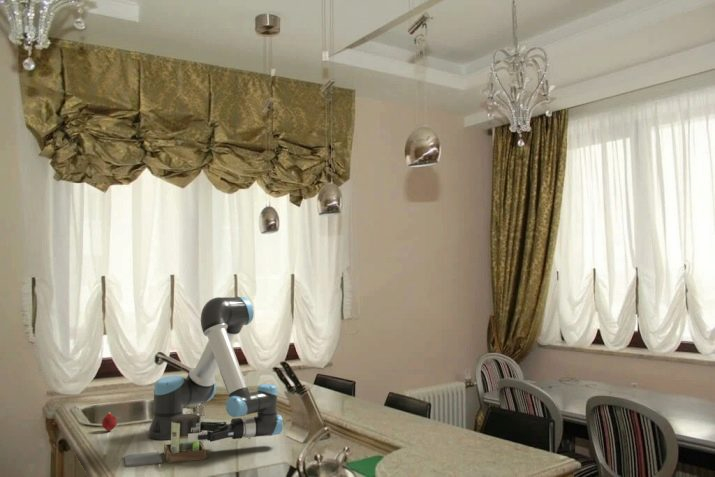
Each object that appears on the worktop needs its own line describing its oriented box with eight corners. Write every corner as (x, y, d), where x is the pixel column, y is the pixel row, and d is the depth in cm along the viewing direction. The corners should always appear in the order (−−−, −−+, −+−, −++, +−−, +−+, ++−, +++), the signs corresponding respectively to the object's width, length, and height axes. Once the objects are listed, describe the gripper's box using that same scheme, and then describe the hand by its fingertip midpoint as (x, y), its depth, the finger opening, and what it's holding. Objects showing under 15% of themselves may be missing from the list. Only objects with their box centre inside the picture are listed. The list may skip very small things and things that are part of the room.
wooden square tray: (163, 452, 227) (164, 444, 227) (200, 449, 232) (200, 441, 232) (168, 462, 215) (168, 454, 215) (206, 458, 220) (206, 450, 220)
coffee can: (203, 452, 227) (204, 414, 228) (191, 461, 217) (192, 421, 218) (178, 451, 230) (179, 413, 230) (164, 458, 219) (165, 419, 220)
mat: (124, 457, 221) (124, 455, 221) (158, 453, 226) (158, 451, 226) (126, 467, 210) (126, 464, 210) (162, 463, 215) (162, 460, 215)
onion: (118, 429, 260) (119, 410, 260) (113, 433, 254) (114, 413, 254) (104, 429, 259) (105, 410, 260) (99, 433, 254) (100, 413, 254)
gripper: (250, 446, 221) (190, 452, 212) (234, 430, 243) (179, 435, 235) (250, 425, 221) (190, 431, 212) (235, 411, 244) (180, 415, 235)
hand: (185, 433), depth 223 cm, fingers open, 13 cm apart
